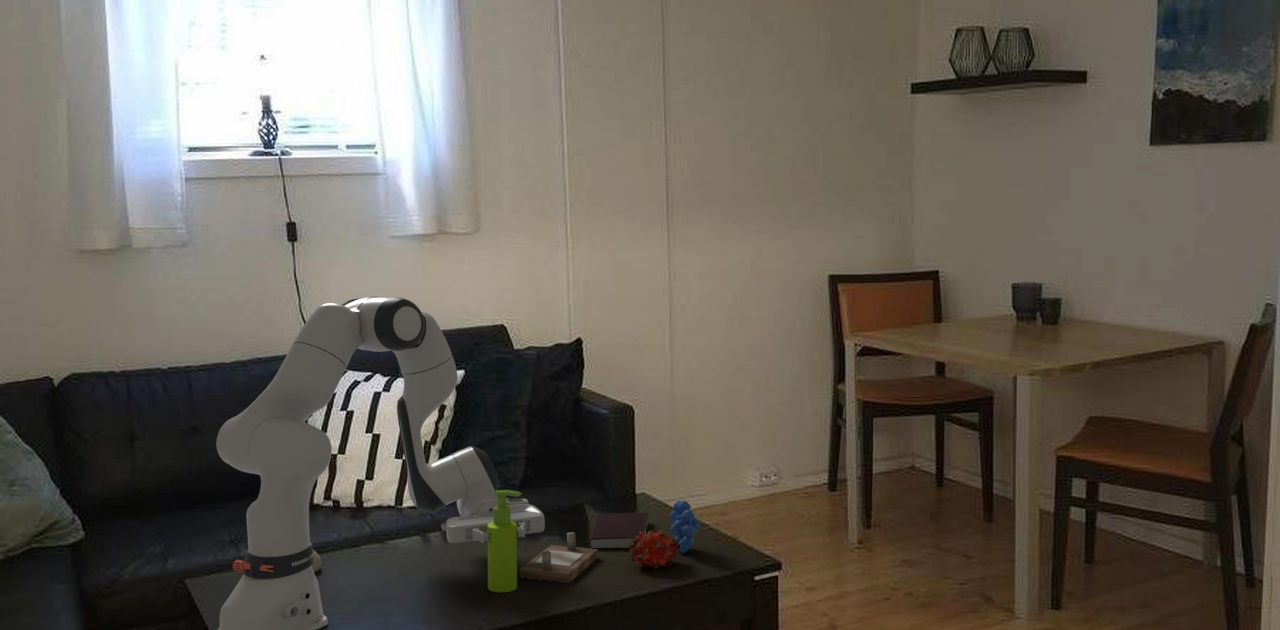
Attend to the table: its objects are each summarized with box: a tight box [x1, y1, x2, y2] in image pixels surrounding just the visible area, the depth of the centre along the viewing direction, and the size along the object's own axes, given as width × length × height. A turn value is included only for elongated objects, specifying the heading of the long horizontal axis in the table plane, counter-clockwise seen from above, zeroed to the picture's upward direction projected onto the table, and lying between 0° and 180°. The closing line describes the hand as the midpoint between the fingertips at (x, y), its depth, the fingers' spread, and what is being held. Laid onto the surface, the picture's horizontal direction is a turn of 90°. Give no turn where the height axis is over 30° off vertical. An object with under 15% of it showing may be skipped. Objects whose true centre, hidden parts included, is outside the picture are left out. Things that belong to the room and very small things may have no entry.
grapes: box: [669, 500, 702, 554], centre depth 246 cm, size 12×7×12 cm, turn 17°
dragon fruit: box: [627, 529, 680, 570], centre depth 238 cm, size 8×8×12 cm
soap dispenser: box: [486, 489, 523, 593], centre depth 226 cm, size 6×7×20 cm
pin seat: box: [519, 531, 599, 584], centre depth 238 cm, size 16×11×6 cm
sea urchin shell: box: [312, 549, 322, 573], centre depth 240 cm, size 9×8×8 cm
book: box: [588, 512, 649, 549], centre depth 259 cm, size 12×19×3 cm, turn 177°
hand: (503, 536), depth 225 cm, fingers closed on soap dispenser, 6 cm apart
